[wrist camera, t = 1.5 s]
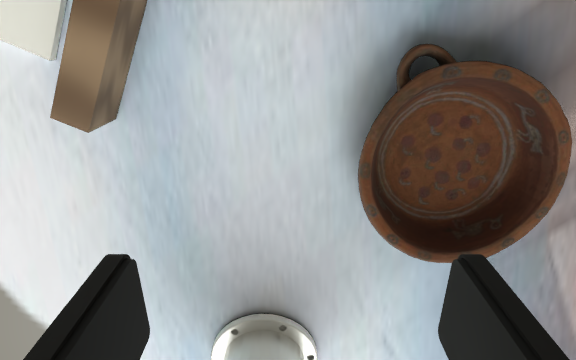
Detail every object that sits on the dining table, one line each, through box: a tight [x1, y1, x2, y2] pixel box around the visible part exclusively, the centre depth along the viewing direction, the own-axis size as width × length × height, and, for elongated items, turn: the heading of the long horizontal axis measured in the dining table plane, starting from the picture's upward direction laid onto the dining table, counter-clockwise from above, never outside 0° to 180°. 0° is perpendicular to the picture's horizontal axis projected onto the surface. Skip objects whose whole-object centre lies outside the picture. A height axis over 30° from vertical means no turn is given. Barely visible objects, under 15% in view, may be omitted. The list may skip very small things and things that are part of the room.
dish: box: [358, 44, 572, 263], centre depth 33 cm, size 18×22×5 cm
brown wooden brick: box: [50, 0, 147, 133], centre depth 28 cm, size 19×7×5 cm, turn 156°
